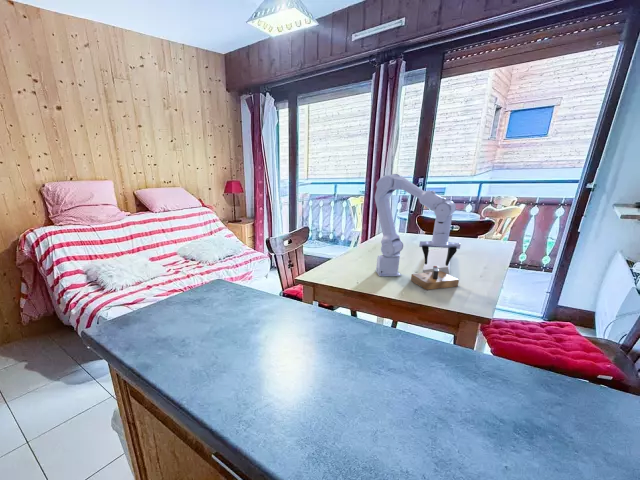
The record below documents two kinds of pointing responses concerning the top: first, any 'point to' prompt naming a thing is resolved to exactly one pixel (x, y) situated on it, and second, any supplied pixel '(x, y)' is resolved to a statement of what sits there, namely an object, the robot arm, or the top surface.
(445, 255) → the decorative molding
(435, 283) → the panel
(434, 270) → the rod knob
